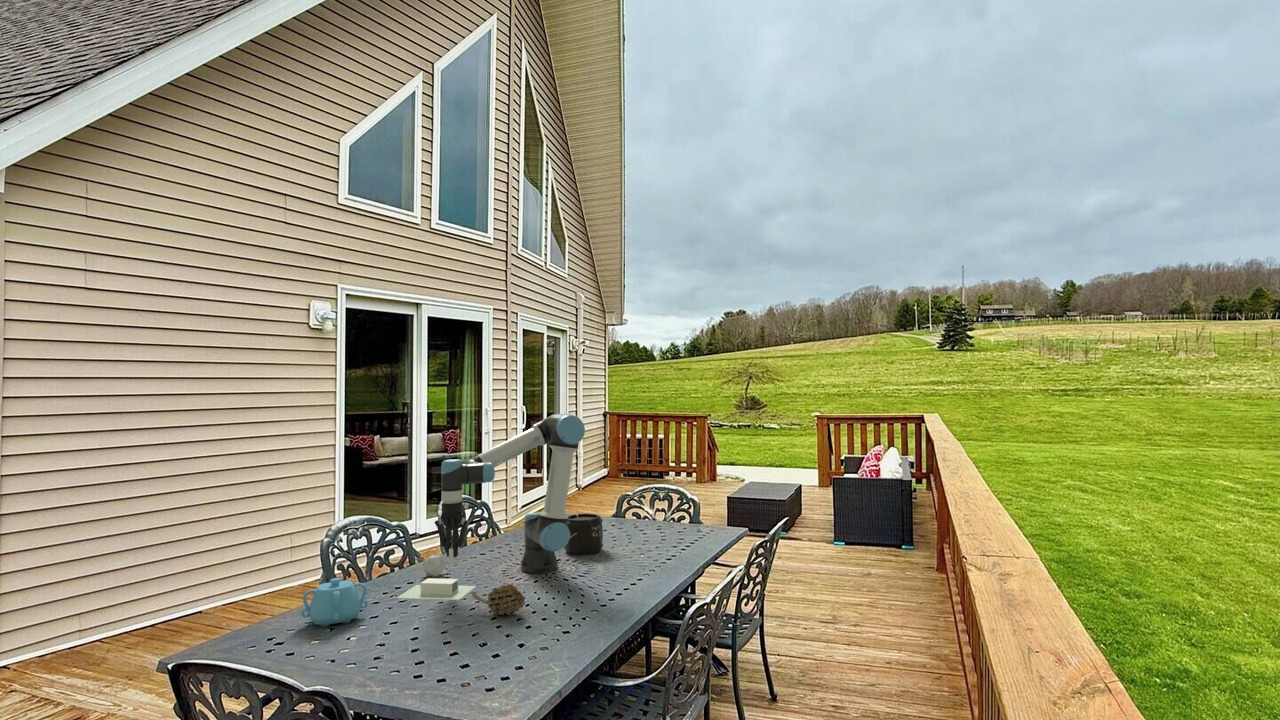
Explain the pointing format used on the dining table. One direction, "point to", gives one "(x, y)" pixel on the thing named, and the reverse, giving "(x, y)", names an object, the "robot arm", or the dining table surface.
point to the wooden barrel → (584, 534)
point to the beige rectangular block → (439, 586)
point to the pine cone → (503, 599)
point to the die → (434, 565)
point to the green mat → (416, 594)
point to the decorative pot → (334, 602)
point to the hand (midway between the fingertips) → (452, 565)
